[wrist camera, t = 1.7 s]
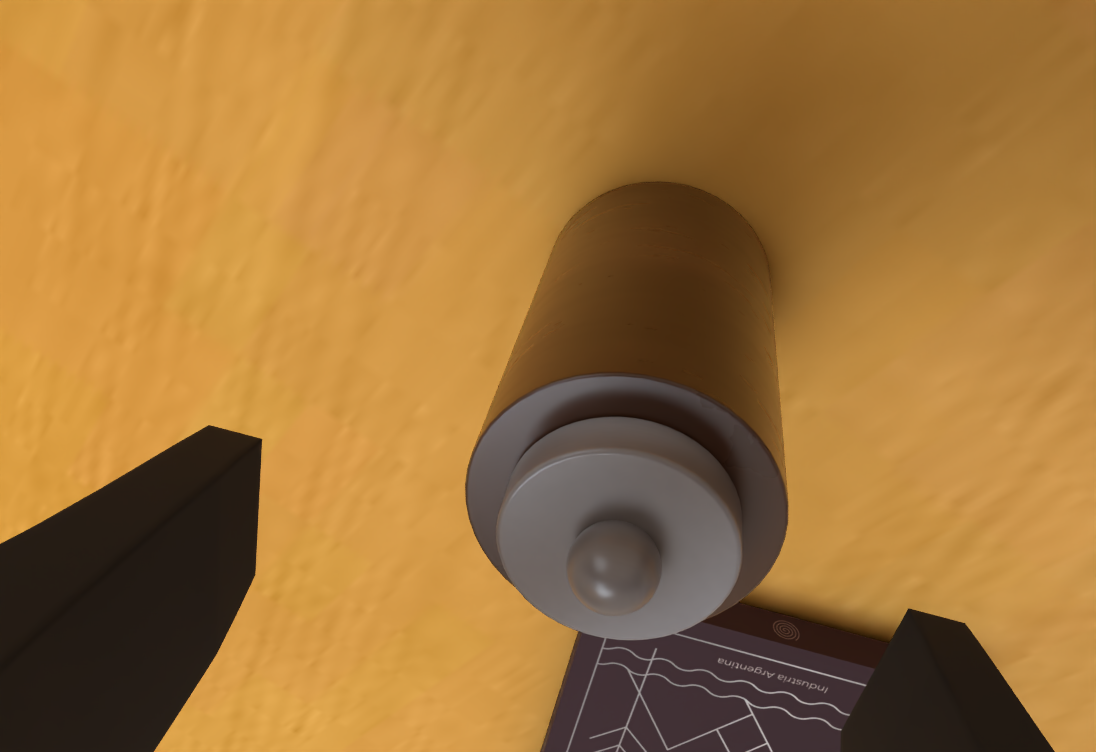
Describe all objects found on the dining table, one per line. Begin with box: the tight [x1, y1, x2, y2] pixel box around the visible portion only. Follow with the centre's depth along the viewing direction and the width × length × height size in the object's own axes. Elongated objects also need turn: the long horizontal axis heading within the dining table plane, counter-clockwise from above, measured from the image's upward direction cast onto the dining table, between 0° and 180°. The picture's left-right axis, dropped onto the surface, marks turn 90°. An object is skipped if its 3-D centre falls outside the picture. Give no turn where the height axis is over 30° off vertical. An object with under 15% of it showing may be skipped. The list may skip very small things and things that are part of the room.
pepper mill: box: [465, 182, 788, 640], centre depth 16 cm, size 4×4×9 cm
